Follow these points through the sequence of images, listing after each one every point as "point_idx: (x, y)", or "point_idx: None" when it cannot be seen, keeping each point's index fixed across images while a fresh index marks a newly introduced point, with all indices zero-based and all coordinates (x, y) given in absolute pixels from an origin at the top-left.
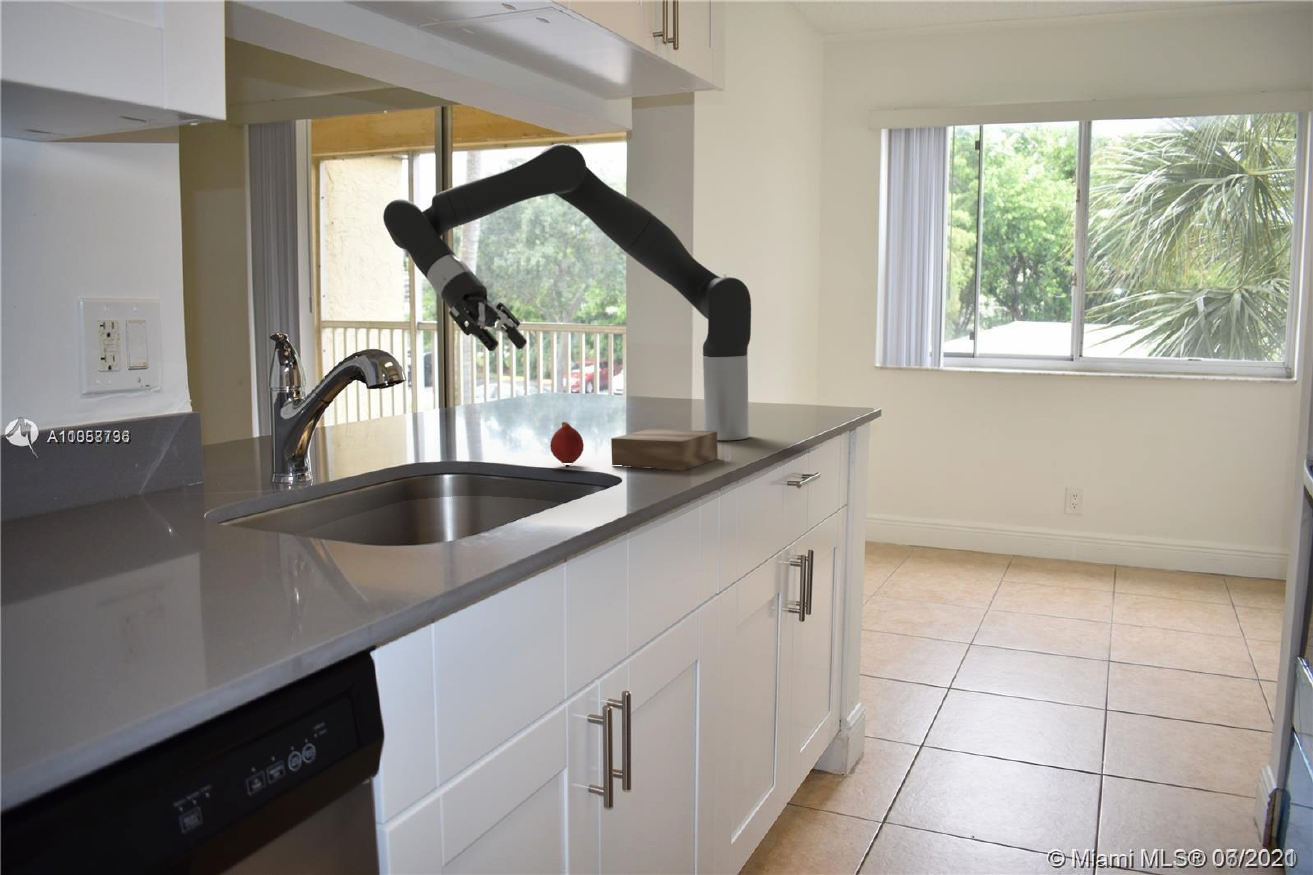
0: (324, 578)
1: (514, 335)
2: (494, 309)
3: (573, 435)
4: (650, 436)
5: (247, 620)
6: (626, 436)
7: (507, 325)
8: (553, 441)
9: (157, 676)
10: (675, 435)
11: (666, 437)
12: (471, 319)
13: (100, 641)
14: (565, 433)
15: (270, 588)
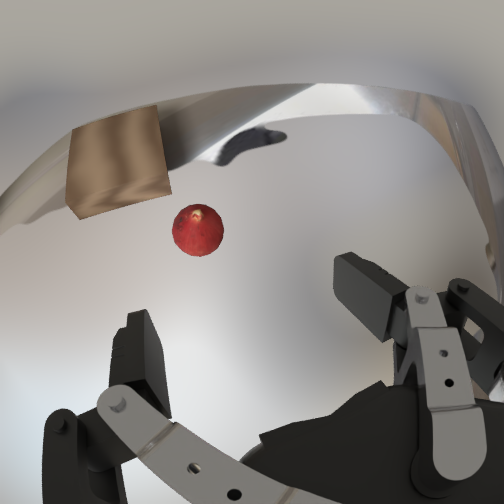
0: (452, 130)
1: (154, 370)
2: (280, 498)
3: (200, 204)
4: (130, 149)
5: (463, 122)
6: (142, 170)
7: (109, 485)
8: (221, 231)
9: (469, 114)
10: (113, 135)
11: (132, 131)
12: (478, 303)
13: (486, 141)
14: (210, 210)
15: (464, 137)
